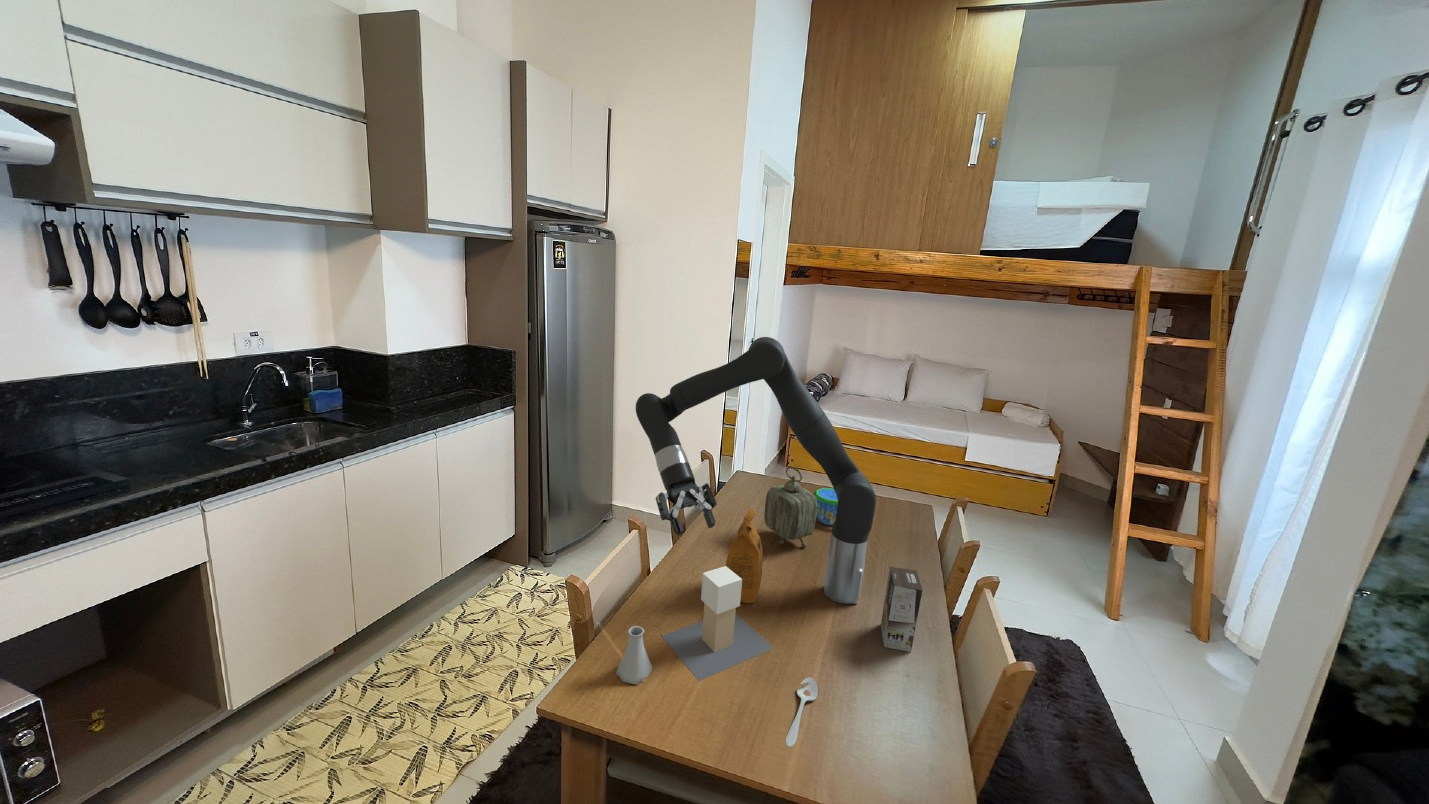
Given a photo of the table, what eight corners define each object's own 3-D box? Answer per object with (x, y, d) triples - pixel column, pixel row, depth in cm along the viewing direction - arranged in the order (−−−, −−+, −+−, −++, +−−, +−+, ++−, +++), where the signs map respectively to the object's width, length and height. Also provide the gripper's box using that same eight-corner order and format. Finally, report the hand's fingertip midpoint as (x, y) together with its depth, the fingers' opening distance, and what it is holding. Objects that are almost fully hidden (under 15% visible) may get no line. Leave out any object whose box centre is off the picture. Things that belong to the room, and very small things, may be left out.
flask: (636, 690, 110) (638, 647, 108) (609, 674, 114) (610, 633, 112) (659, 669, 116) (661, 628, 114) (632, 655, 120) (633, 615, 118)
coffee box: (912, 653, 127) (923, 590, 123) (883, 647, 128) (893, 585, 124) (907, 628, 136) (917, 569, 132) (880, 623, 137) (889, 565, 133)
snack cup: (855, 528, 186) (859, 501, 184) (830, 534, 181) (834, 505, 179) (825, 509, 199) (829, 483, 197) (802, 514, 194) (805, 487, 192)
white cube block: (723, 591, 127) (725, 565, 125) (739, 606, 122) (742, 579, 120) (701, 599, 123) (702, 572, 122) (716, 614, 119) (718, 587, 117)
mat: (731, 611, 137) (732, 609, 137) (773, 650, 125) (773, 648, 124) (661, 638, 126) (661, 635, 126) (699, 683, 113) (699, 680, 113)
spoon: (820, 686, 115) (821, 680, 115) (795, 765, 97) (796, 758, 96) (801, 680, 117) (801, 673, 116) (772, 756, 98) (773, 749, 98)
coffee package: (764, 583, 151) (771, 508, 145) (756, 609, 139) (764, 529, 134) (728, 576, 153) (734, 502, 147) (718, 601, 141) (724, 522, 136)
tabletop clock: (812, 549, 170) (821, 473, 164) (790, 556, 165) (798, 478, 159) (781, 529, 182) (789, 458, 176) (759, 535, 177) (766, 462, 171)
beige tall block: (719, 632, 129) (724, 570, 125) (732, 644, 125) (738, 581, 121) (701, 639, 126) (706, 576, 122) (714, 652, 122) (719, 587, 118)
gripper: (653, 465, 128) (676, 531, 122) (705, 456, 136) (729, 518, 130) (642, 479, 134) (663, 543, 127) (692, 469, 142) (714, 529, 135)
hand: (696, 530), depth 129 cm, fingers open, 8 cm apart
